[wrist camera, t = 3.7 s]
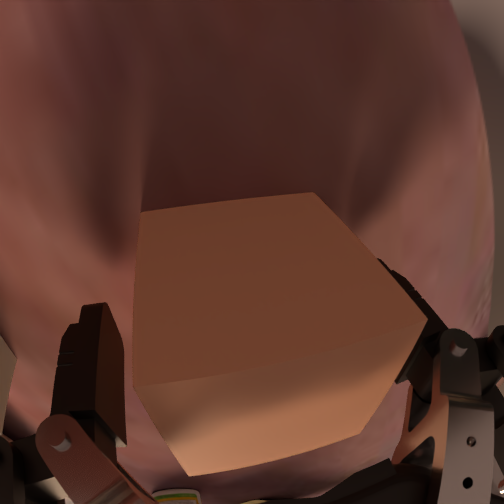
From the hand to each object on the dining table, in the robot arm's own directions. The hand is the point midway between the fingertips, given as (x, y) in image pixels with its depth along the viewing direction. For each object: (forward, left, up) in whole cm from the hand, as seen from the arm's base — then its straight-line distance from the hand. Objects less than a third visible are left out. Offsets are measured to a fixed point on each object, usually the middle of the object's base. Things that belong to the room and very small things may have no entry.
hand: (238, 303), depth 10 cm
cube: (0, 0, -2) cm, 2 cm away
